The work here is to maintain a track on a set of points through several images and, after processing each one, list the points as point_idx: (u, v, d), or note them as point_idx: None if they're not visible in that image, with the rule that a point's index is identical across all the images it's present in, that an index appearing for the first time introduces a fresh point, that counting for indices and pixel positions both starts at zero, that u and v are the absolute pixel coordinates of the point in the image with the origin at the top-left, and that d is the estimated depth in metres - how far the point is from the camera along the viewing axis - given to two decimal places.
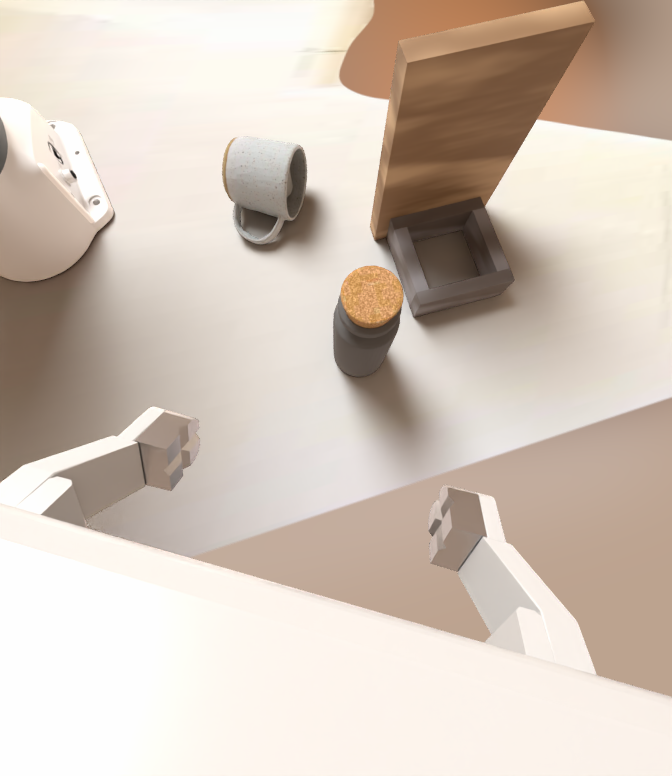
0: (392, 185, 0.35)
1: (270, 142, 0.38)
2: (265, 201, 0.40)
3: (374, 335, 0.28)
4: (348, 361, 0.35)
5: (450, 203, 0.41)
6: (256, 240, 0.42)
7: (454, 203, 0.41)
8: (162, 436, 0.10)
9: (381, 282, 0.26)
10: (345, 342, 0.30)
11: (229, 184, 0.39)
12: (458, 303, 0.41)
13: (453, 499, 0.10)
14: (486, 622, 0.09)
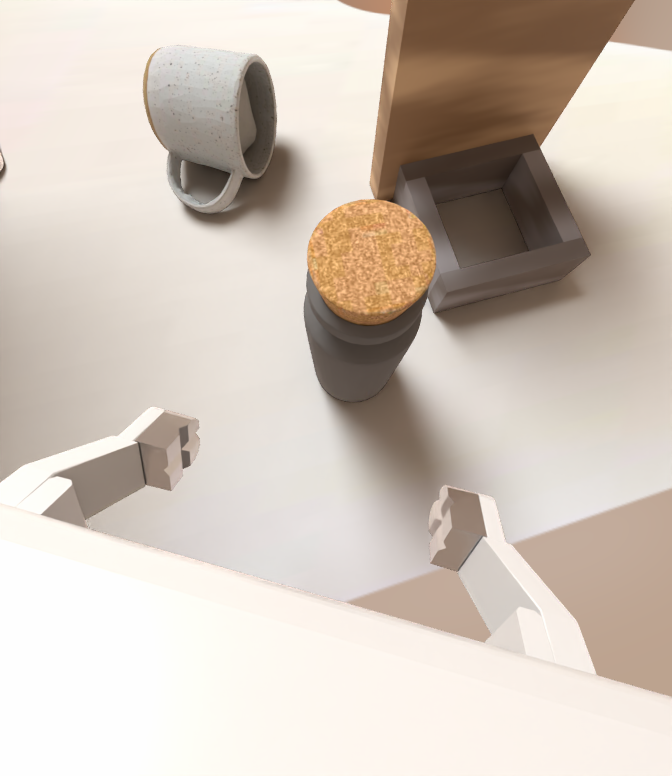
0: (405, 98, 0.22)
1: (214, 50, 0.25)
2: (209, 144, 0.26)
3: (376, 339, 0.14)
4: (333, 381, 0.21)
5: (489, 143, 0.27)
6: (201, 206, 0.29)
7: (494, 144, 0.28)
8: (162, 436, 0.10)
9: (391, 231, 0.13)
10: (324, 352, 0.17)
11: (155, 117, 0.26)
12: (500, 291, 0.28)
13: (453, 499, 0.10)
14: (486, 622, 0.09)
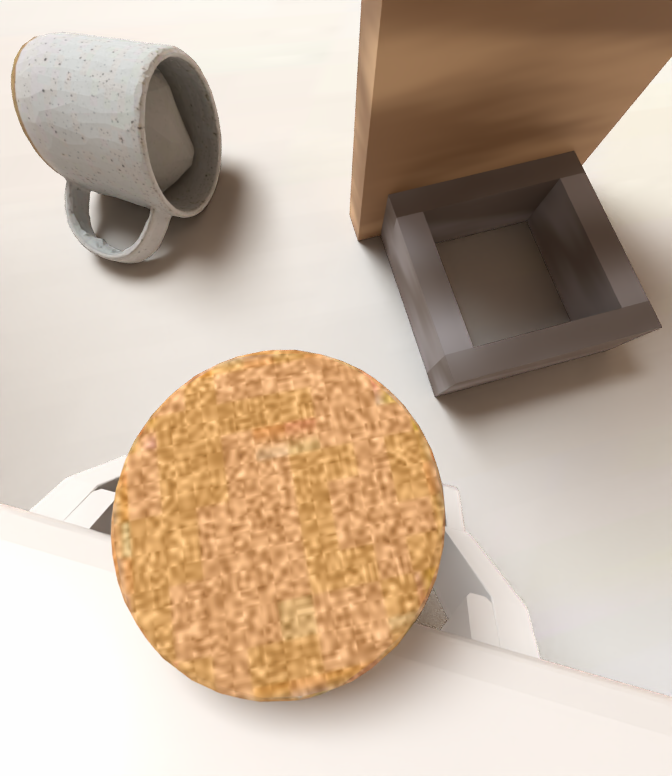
0: (392, 101, 0.14)
1: (112, 40, 0.17)
2: (112, 174, 0.18)
3: None
4: None
5: (513, 163, 0.20)
6: (112, 256, 0.21)
7: (520, 164, 0.20)
8: None
9: (329, 442, 0.05)
10: None
11: (33, 136, 0.18)
12: (528, 369, 0.20)
13: None
14: (445, 610, 0.09)
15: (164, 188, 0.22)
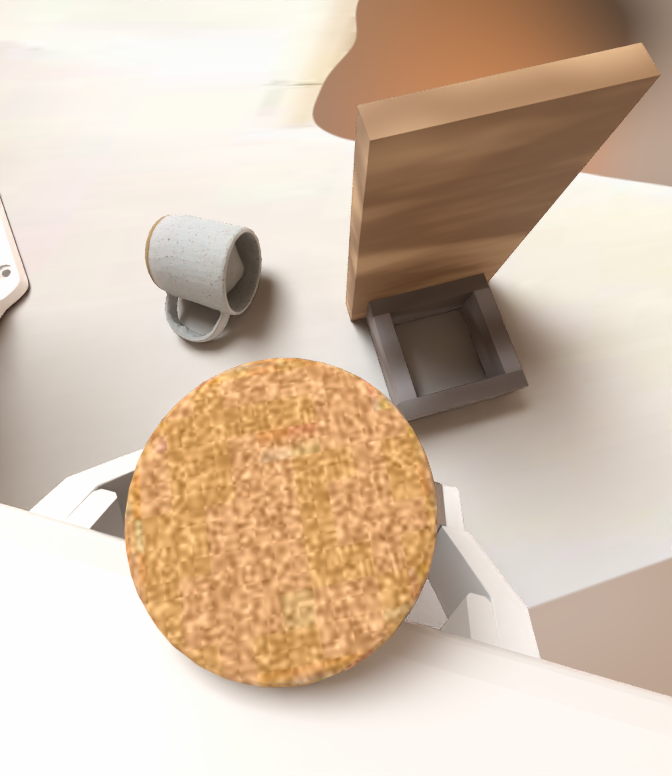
0: (366, 272, 0.27)
1: (205, 225, 0.29)
2: (201, 297, 0.31)
3: None
4: None
5: (445, 282, 0.32)
6: (194, 340, 0.33)
7: (450, 281, 0.32)
8: None
9: (329, 446, 0.05)
10: None
11: (155, 275, 0.30)
12: (455, 407, 0.32)
13: None
14: (445, 610, 0.09)
15: (225, 294, 0.34)
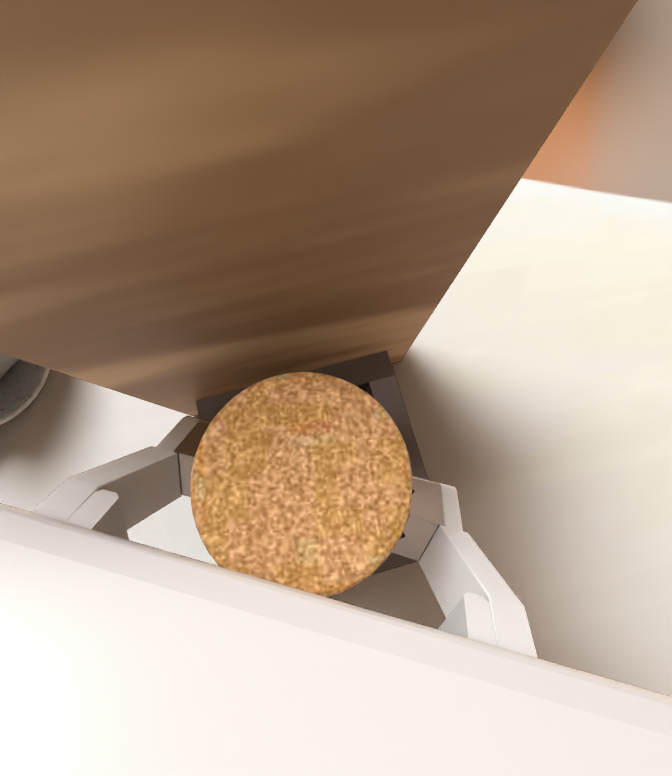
0: (130, 383, 0.14)
1: None
2: None
3: None
4: None
5: (323, 366, 0.20)
6: None
7: (332, 365, 0.20)
8: None
9: (340, 439, 0.08)
10: None
11: None
12: None
13: (414, 489, 0.10)
14: (443, 610, 0.09)
15: None
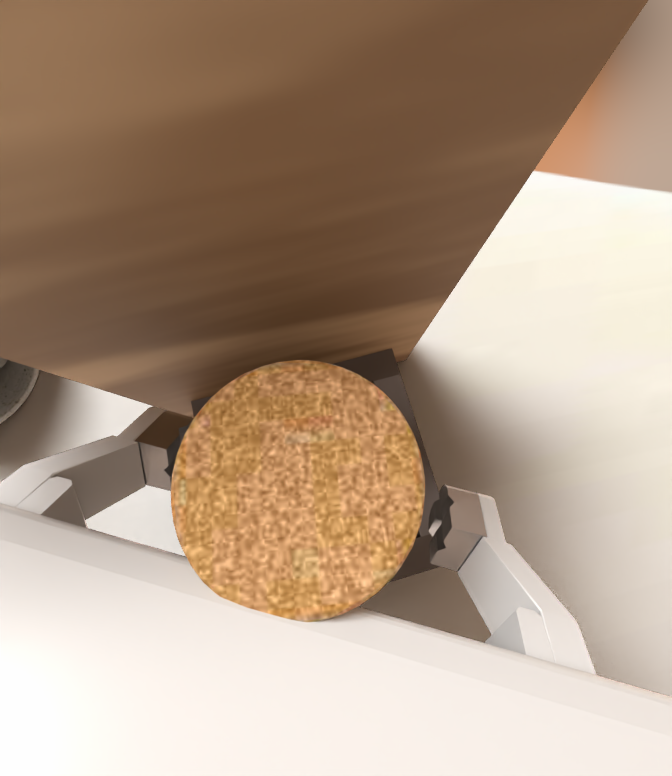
0: (118, 381, 0.13)
1: None
2: None
3: None
4: None
5: None
6: None
7: (334, 363, 0.19)
8: (162, 436, 0.10)
9: (341, 436, 0.07)
10: None
11: None
12: None
13: (453, 499, 0.10)
14: (486, 622, 0.09)
15: None
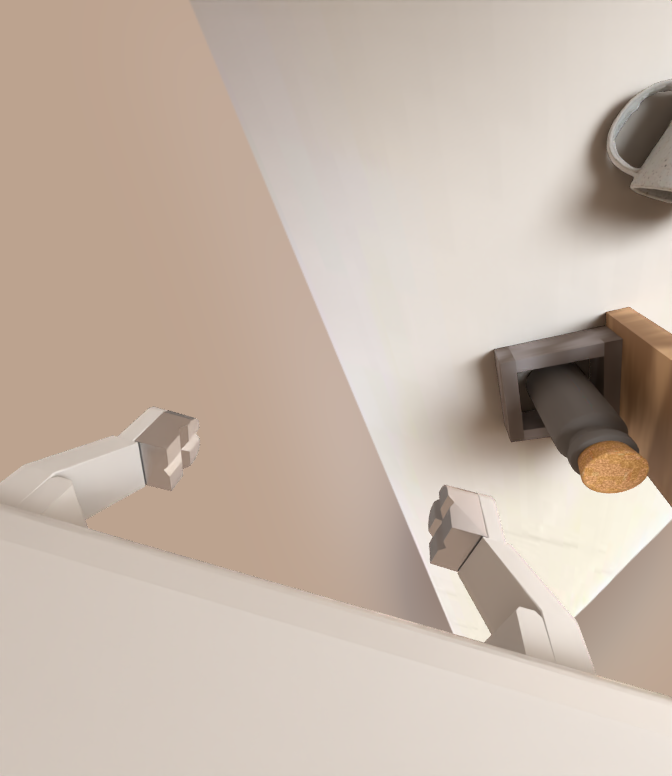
0: (654, 357, 0.29)
1: None
2: (668, 149, 0.26)
3: (570, 455, 0.31)
4: (549, 393, 0.36)
5: (620, 400, 0.37)
6: (612, 129, 0.28)
7: (619, 403, 0.38)
8: (162, 436, 0.10)
9: (622, 481, 0.29)
10: (572, 417, 0.32)
11: None
12: (500, 391, 0.42)
13: (453, 499, 0.10)
14: (486, 622, 0.09)
15: None
